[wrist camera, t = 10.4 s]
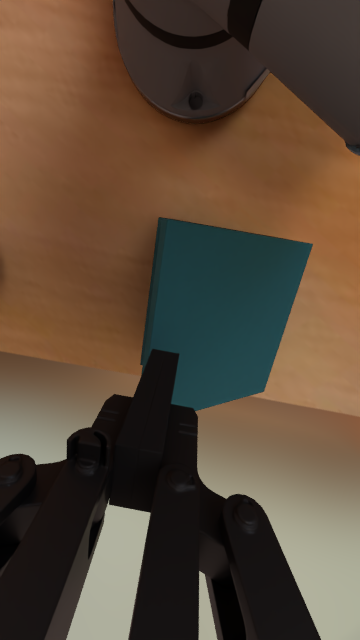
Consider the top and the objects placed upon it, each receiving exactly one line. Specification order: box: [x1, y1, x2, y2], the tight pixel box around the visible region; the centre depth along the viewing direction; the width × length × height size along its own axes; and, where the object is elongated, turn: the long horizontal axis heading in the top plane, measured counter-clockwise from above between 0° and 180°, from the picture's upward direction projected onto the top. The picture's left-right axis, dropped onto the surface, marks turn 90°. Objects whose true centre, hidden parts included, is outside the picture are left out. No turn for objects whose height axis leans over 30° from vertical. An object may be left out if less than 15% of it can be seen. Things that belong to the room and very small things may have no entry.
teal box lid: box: [141, 218, 313, 411], centre depth 22 cm, size 14×16×1 cm
